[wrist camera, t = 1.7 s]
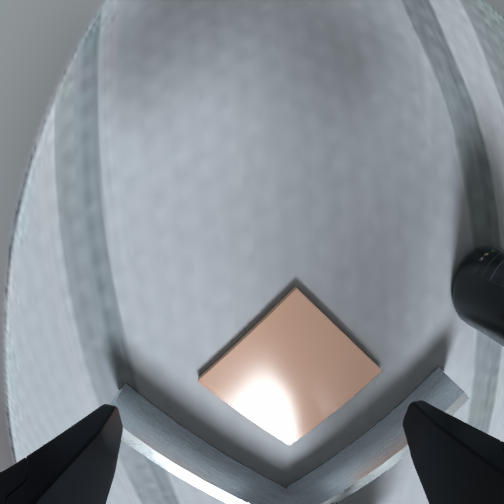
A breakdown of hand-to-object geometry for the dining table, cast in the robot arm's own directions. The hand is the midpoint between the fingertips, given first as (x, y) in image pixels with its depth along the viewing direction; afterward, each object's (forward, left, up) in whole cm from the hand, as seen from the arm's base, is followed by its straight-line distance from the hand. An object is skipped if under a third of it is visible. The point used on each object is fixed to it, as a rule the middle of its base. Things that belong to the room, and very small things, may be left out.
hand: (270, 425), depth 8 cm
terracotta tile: (-7, +3, -14) cm, 16 cm away
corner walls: (-8, +4, -14) cm, 16 cm away
